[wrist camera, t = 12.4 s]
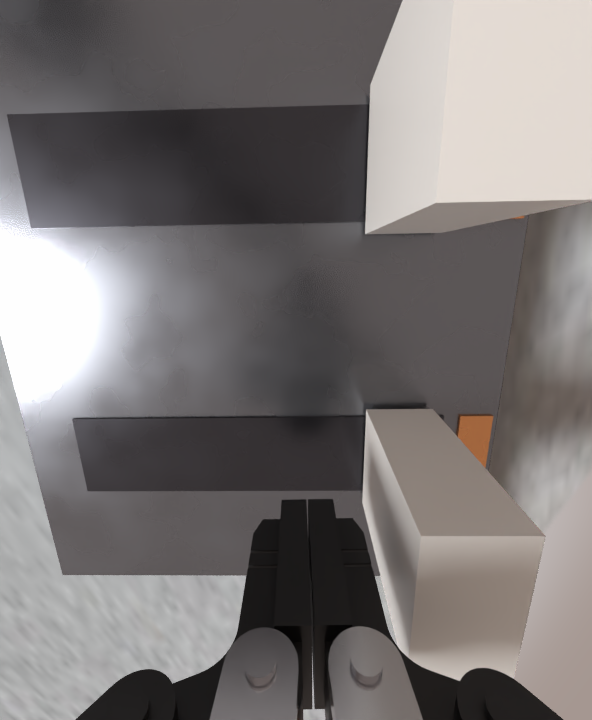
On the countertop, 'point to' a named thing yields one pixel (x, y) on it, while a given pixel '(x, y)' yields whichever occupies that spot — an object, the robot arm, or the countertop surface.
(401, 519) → the handle
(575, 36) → the on handle
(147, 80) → the breaker panel
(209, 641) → the countertop surface
